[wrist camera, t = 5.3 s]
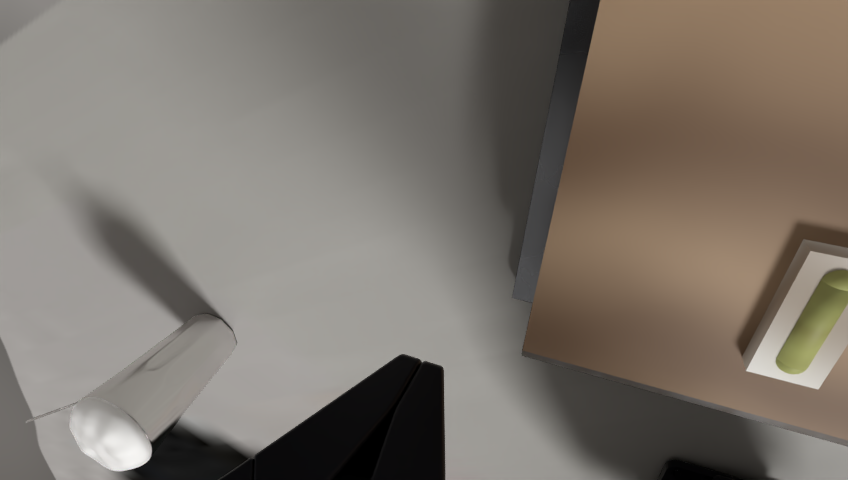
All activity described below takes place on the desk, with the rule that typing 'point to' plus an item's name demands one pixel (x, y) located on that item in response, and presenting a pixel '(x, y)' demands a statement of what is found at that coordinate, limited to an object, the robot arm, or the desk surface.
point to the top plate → (707, 211)
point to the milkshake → (149, 394)
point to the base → (555, 142)
